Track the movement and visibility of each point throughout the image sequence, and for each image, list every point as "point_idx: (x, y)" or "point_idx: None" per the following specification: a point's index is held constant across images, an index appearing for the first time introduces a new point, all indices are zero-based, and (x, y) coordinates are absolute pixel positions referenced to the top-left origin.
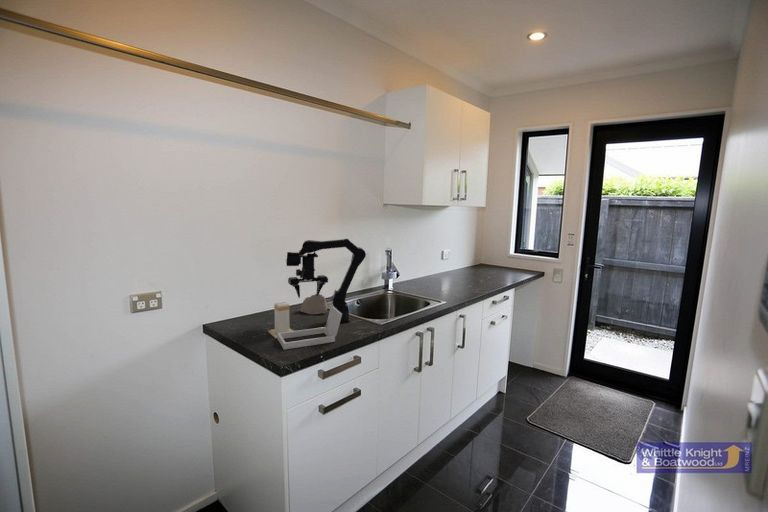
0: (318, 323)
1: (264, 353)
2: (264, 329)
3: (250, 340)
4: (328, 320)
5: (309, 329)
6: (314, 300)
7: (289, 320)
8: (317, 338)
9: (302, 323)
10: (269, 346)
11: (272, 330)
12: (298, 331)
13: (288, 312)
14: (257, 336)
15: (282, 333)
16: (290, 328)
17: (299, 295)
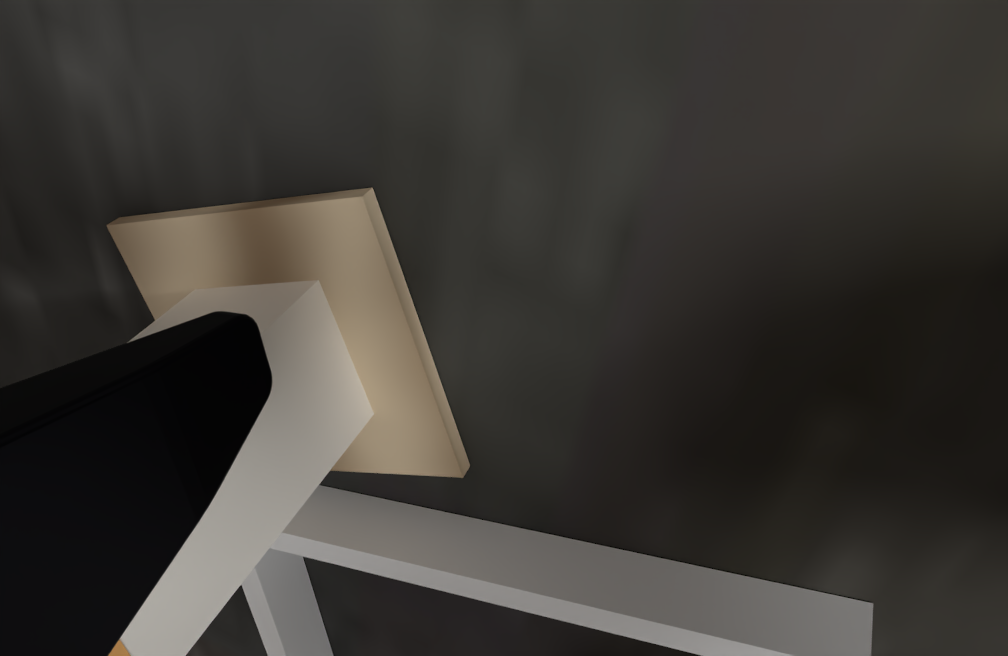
0: (983, 208)
1: (195, 650)
2: (62, 111)
3: (23, 379)
4: None
5: (594, 623)
6: None
7: (279, 534)
8: None
9: (649, 65)
10: None
11: (164, 257)
12: (448, 588)
13: (178, 643)
14: (52, 312)
15: (270, 547)
16: (391, 298)
17: (193, 499)
